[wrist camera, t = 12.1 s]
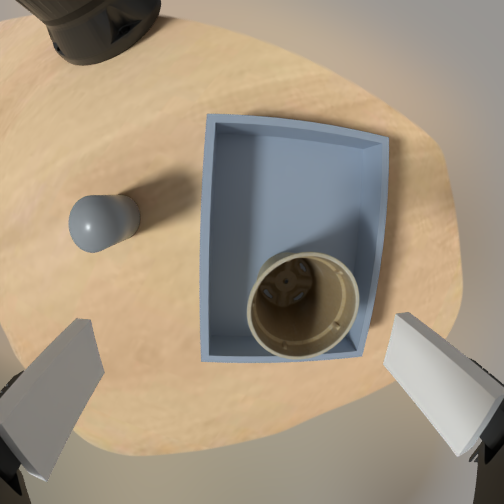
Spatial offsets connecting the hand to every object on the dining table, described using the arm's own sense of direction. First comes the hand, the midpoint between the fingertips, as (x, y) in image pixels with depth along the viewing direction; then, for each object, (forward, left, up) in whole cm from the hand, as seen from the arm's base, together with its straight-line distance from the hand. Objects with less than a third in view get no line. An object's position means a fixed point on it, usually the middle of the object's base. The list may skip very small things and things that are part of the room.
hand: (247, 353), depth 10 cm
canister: (-4, -13, -20) cm, 24 cm away
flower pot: (+2, +5, -19) cm, 20 cm away
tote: (-2, +6, -19) cm, 20 cm away
